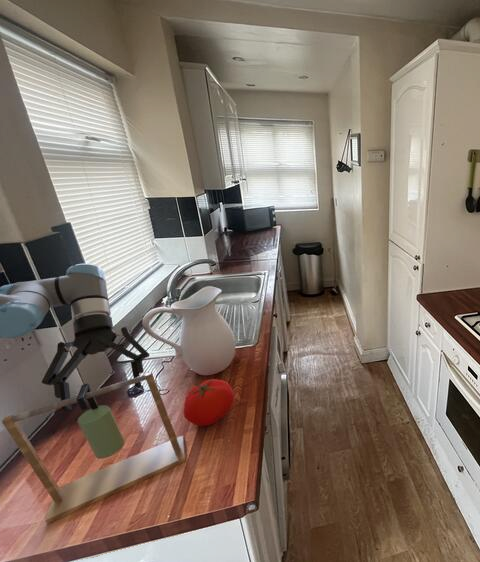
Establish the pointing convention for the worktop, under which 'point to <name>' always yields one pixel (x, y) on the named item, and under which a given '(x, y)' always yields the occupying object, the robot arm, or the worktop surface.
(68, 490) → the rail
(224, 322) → the pitcher
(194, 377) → the worktop surface
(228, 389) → the tomato
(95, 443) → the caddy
